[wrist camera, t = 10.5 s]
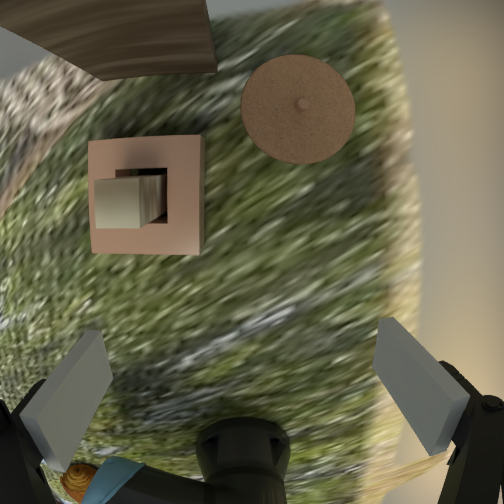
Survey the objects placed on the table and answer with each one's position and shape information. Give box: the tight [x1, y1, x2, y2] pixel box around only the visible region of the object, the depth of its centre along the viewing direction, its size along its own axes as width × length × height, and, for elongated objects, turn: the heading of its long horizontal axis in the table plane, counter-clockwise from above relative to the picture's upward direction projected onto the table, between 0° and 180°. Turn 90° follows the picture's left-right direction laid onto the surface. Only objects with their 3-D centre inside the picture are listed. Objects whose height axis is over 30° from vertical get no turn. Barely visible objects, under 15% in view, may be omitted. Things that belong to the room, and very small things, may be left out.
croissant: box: [60, 464, 98, 504], centre depth 47 cm, size 14×16×8 cm
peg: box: [94, 175, 168, 229], centre depth 30 cm, size 4×4×12 cm
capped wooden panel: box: [0, 0, 218, 81], centre depth 18 cm, size 7×16×32 cm, turn 89°
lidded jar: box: [240, 54, 356, 165], centre depth 30 cm, size 11×11×9 cm
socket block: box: [88, 135, 206, 255], centre depth 33 cm, size 12×12×5 cm
